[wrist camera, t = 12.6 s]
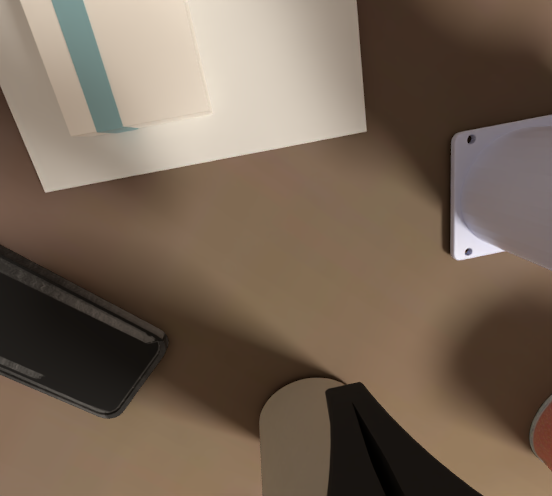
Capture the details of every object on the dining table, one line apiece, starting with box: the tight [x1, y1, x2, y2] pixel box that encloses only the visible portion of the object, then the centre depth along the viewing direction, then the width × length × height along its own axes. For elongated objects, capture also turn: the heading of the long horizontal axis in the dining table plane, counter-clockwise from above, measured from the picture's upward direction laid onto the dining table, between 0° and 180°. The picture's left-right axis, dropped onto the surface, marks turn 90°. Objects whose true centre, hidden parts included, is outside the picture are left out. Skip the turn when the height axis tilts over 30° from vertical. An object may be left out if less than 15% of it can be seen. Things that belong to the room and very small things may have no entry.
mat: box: [0, 0, 367, 193], centre depth 16 cm, size 18×14×1 cm
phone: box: [0, 245, 168, 419], centre depth 20 cm, size 8×1×15 cm
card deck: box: [20, 0, 213, 137], centre depth 14 cm, size 2×9×6 cm
